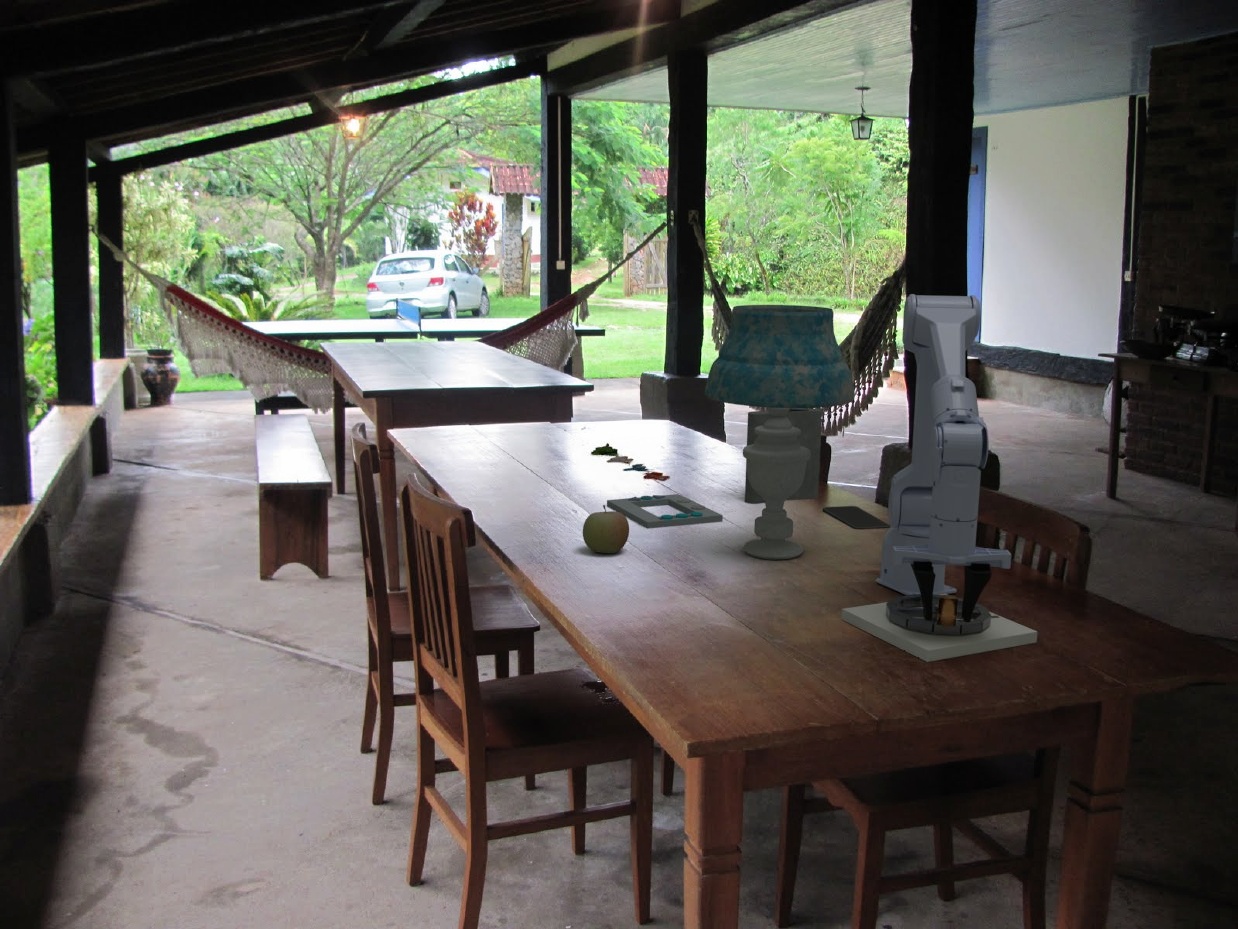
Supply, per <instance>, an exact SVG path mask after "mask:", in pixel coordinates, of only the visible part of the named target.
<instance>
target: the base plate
mask: <svg viewBox="0 0 1238 929" xmlns="http://www.w3.org/2000/svg"><path fill="white" fill-rule="evenodd" d="M939 595H949V594H939ZM888 602H889V601H886V602H881V603H873V604H866V605H859V606H853V607H845V608H841V620H842V621H844V622H846V623H848V624H851V625H852V626H854V627H856V628H858V629H860V630H863V631H864V632H866V633H868V634H870V635H871V636H872V635H873V636H874V637H876V638H878V639H881V640H882V641H885V642H886V643H888V644H890V645H892V646H895V647H897V649H899V650H900V649H901V650H902V651H904V650H905V652H906V653H908V654H911V655H912V656H915V657H917V658H918V657H919V658H918V659H921V660H922V661H925V662H926V663H929V662H935V661H940V660H946V659H953V658H958V657H963V656H968V655H976V654H980V653H986V652H992V651H996V650H1002V649H1008V648H1013V647H1019V646H1025V645H1026V646H1027V645H1030V644H1035V643H1037V642H1038V641H1037V640H1038V631H1037V630H1035V629H1032V628H1030V627H1027V626H1025V625H1023V624H1019V623H1017V622H1015V621H1013V620H1010V619H1008V618H1005V617H1003V616H1001V615H998V614H996V613H993V612H991V611H989V613H990V614H991V623H990V625H989V626H988V627H986V628H985V629H984V630H983V631H979V632H973V633H968V634H962V635H961V634H960V635H957V634H934V633H927V632H923V631H918V630H913V629H908V628H905V627H903V626H901V625H899V624H896V623H894V622H892V621H890V620H889V618H888V616H887V614H886V604H887V603H888ZM904 608H923V605H917V606H910V607H904ZM957 610H960V609H957ZM913 618H917V617H913ZM918 619H923V620H925V618H918ZM932 621H933V620H932ZM933 622H936V621H933ZM958 622H964V620H963V619H956V623H958Z"/></svg>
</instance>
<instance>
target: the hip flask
mask: <svg viewBox="0 0 1238 929" xmlns="http://www.w3.org/2000/svg"><path fill="white" fill-rule="evenodd" d="M769 416H770V414H769V411H768V409H767V410H766V409H765V410H756V411H755V410H754V411H748V412H747V427H746V428H747V430H746V431H747V432H746V434H747V436H746V446H748V445H752V444H754V441H755V440H756V439H757V437H758V435H757V434H755V432H754V430H755V428H756V427H758V426H763V425H764V423H765V422H766V420H767V419H768V417H769ZM786 416H787V417H788V419H789V421H790V423H791V425H792V427H796V428H799V429H800V430H801V434H800V435H799V436H797V439H798V441H799V442H800V446H803V447H805V448H808V449H809V450H810V451H811V457H810V459H809V460H808V461H807V464H806V470H805V476H804V480H803V482H802V485H801V486H800V488H799V489H798V490H797V492H796V493H794V494H793V495H792V496H790V497H789V498H787V500H786V501H794V500H816V499H818V498H819V482H820V463H821V462H820V461H821V444H822V443H821V440H822V422H823V418H822V417H823V409H819V408H790V409H789V412H788V414H787V415H786ZM744 483H745V487H744V502H745V503H746V504H749V505H751V504H752V505H757V504H759V505H760V504H764V503H765V500H763V498H762V497H761V496H760V495H759V494H758V493H756V492H755V490H754V489H753V488H752V486H751V484H750V482H749V479H748V476H747V466H746V465H745V482H744Z"/></svg>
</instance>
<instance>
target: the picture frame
mask: <svg viewBox="0 0 1238 929" xmlns="http://www.w3.org/2000/svg"><path fill="white" fill-rule="evenodd" d="M663 506H669V507H671V508H673V509H675V510H677V511H679V513H676V514H673V515H672V514H662V515H661V516H657V515H656V514H653V513H651V512H650V511H648V510H646V509H644V508H652V507H663ZM606 507H607V508H609V509H611V510H613V511H615V512H619V513H622V514H623V515H624V516H625V517H626V518H627V519H629V520H630V521H632V522H634V523H636V524H638V525H640V526H641V527H643V528H645V529H649V530H651V529H658V528H669V527H670V528H671V527H679V526H691V525H692V526H693V525H700V524H701V525H702V524H711V523H722V522H723V521H724V520H723V518H724V516H723V514H721V513H719V512H717V511H715V510H713V509H710V508H708V507H707V506H705V505H702V504H700V503H698V502H696V501H693V500H691V499H690V498H688V497H686V496H683V495H681V494H679V493H676V494H675V493H674V494H666V495H665V494H664V495H663V494H662V495H661V494H653V495H652V496H651V495H641V496H640V497H638V496H633V497H627V498H617V499H616V498H615V499H607V500H606ZM680 512H681V513H680Z"/></svg>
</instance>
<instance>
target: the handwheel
mask: <svg viewBox="0 0 1238 929" xmlns="http://www.w3.org/2000/svg"><path fill="white" fill-rule="evenodd" d="M887 602H888V603H887V604H886V614H887V616H888V618H889V620H890V621H892V622H894V623H896V624H899V625H901V626H903V627H905V628H908V629H913V630H918V631H923V632H927V633H934V634H957V635H960V634H961V635H962V634H968V633H973V632H979V631H983V630H984V629H985V628H986V627H988V626H989V625H990V623H991V614H990V613H989V612H990V611H989V610H988V607H986V606H984V605H982V604H979V603H976V605H975V608H974V610H973V613H972V617H971V621H970V622H958V623H956V619H963V618H962V605H963V598H961V597H957V596H956V595H951V594H948V595H933V598H932V620H933V621H936V622H933V621H926V620H923V619H918V618H924V616H923V608H904V607H910V606H917V605H923V604H922V598H921V594H918V595H917V594H913V595H901V596H896V597H894V598H892V599H891V600H889V601H887ZM957 609H960V610H957ZM913 617H917V618H913Z"/></svg>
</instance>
